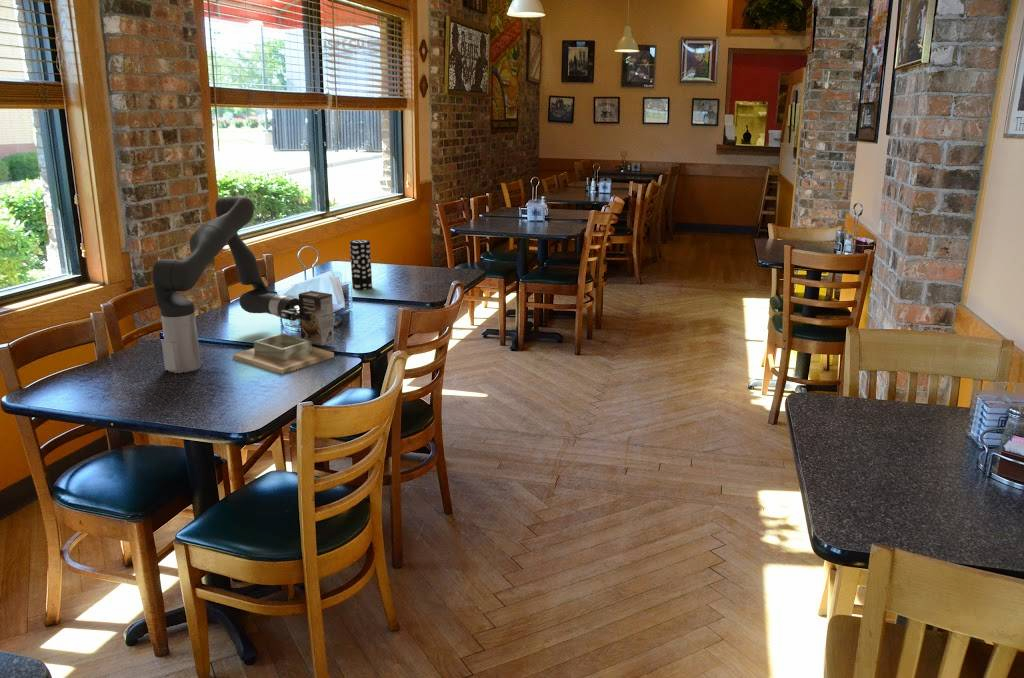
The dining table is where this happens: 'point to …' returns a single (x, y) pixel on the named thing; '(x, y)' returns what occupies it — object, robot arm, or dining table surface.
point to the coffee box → (317, 317)
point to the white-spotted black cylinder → (361, 264)
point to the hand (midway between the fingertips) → (318, 315)
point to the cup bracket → (283, 353)
